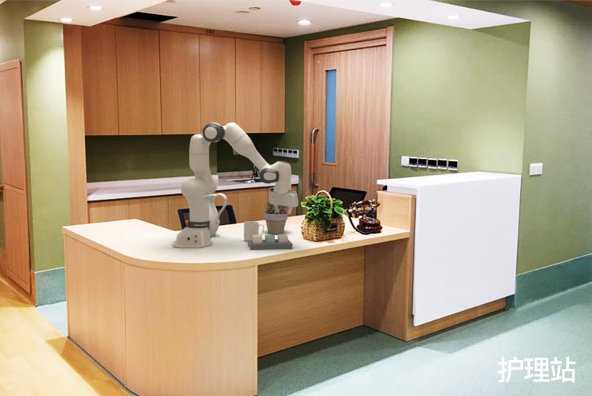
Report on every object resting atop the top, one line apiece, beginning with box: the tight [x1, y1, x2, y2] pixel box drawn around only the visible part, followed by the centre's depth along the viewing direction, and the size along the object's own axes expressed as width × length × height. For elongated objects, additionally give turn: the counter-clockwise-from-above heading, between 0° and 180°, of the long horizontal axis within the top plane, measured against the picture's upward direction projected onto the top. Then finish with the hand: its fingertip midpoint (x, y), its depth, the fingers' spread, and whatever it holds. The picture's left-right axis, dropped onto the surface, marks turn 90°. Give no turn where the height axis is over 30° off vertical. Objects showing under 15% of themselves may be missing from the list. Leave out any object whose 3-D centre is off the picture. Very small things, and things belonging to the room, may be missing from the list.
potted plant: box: [263, 197, 289, 235], centre depth 384 cm, size 18×20×25 cm
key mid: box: [264, 234, 276, 243], centre depth 343 cm, size 5×5×4 cm
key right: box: [277, 233, 289, 243], centre depth 345 cm, size 5×5×4 cm
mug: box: [243, 220, 265, 242], centre depth 359 cm, size 12×9×11 cm
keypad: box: [247, 238, 293, 251], centre depth 344 cm, size 24×13×3 cm, turn 103°
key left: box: [252, 234, 263, 243], centre depth 341 cm, size 5×5×4 cm
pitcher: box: [204, 192, 228, 238], centre depth 368 cm, size 24×17×28 cm
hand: (283, 213), depth 343 cm, fingers open, 8 cm apart
